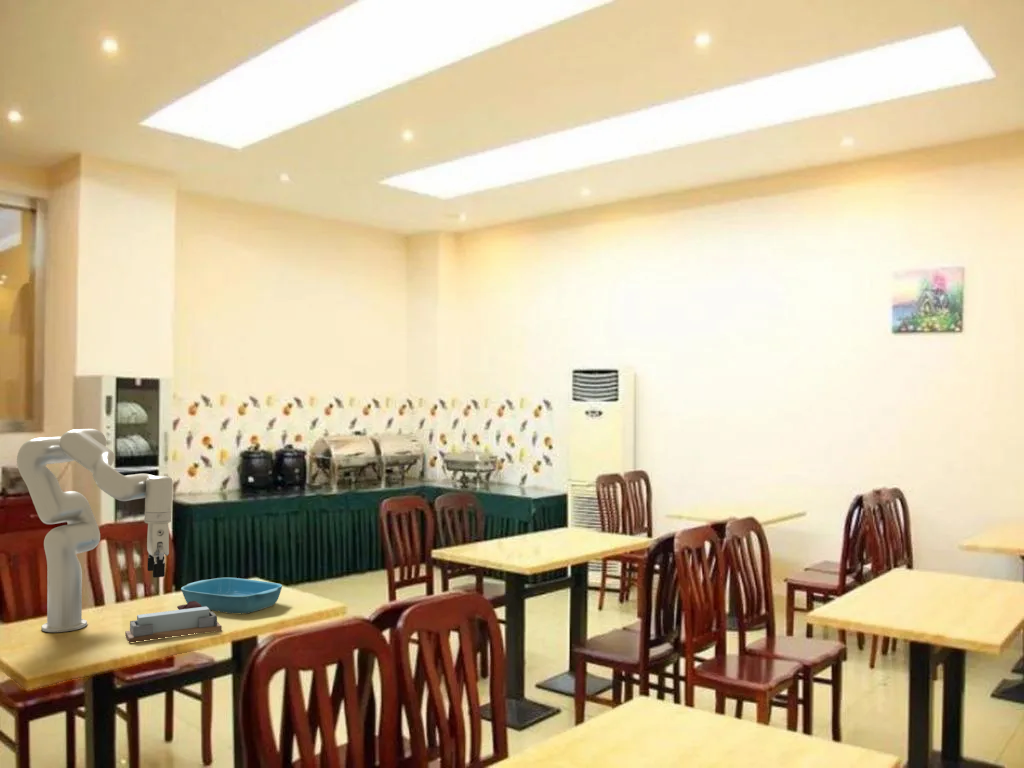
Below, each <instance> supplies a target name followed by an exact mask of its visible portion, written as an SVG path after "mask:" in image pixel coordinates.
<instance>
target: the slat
mask: <svg viewBox="0 0 1024 768" xmlns="http://www.w3.org/2000/svg"><path fill="white" fill-rule="evenodd" d="M209 611H210V610H209V608H208V607H207V606H206V607H198V608H190V609H182V610H179V609H174V610H166V611H159V612H157V611H156V612H151V613H142V614H136V620H137V626H138V625H146V624H153V633H157V632H165V631H172V630H179V629H187V628H194V627H198V618H201V617H208V616H209Z"/></svg>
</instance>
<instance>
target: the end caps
mask: <svg viewBox="0 0 1024 768" xmlns="http://www.w3.org/2000/svg"><path fill="white" fill-rule="evenodd" d="M217 622H218V616H217V614H215V612H214V611H211V610H209V616H208V617H201V618H198V628H206V627H213V626H217ZM129 631H130V632H131V634H132V636H133V637H139V636H147V635H153V624H146V625H138V626H137V619H136V620H130V621H129Z"/></svg>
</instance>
